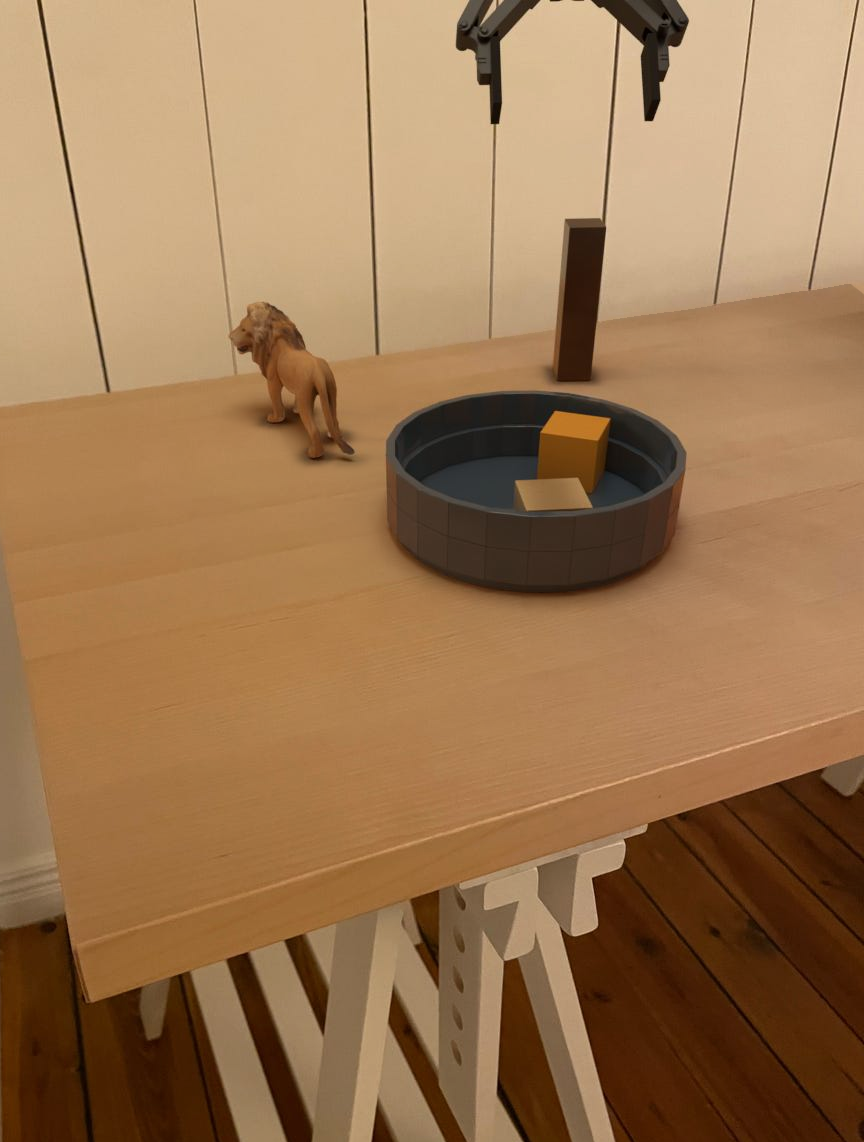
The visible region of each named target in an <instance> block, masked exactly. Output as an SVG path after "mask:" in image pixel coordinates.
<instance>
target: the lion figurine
mask: <svg viewBox="0 0 864 1142" xmlns="http://www.w3.org/2000/svg"><path fill="white" fill-rule="evenodd" d="M239 322H240V324H239V325H238V326H237V327H236V328H234V329H233V330H232V331H230V332H229V334H228V335H227V336H228V339H229V340H230V341H231V343H232V345H233V346H234V347H235V348H236V350H237V353H238V354H239V355H245V354H247V353H250V354H251V360H252V362H253V363H255V364H257V365H258V367H259V370H260V373H261V376H262V377H264V378H265V379H266V384H267V391H268V396H269V398H270V401H271V404H272V409H273V411H272V412H270V413H268V415H267V420H266V421H267V422H269V423H272V424H273V423H280V422H281V423H282V422H283V421H284V420H285V417H286V409H285V406H284V403H283V398H282V396H283V395H282V391H283V388H285V389H286V390H287V391H288V392H289V393H290V394H293V395H294V402H293V406H292V407H293V408H292V412H293V413H294V414H298V415H299V417H300V419H301V421H302V424H303V425H304V428H305V429H306V431H307V433H308V436H309V438H310V441H311V446H310V447H308V450H307V455H308V457H310V458H314V459H315V458H319V457H321V456H323V455H324V446H323V442H322V435H321V432H320V429H319V427H318V426H317V424H316V421H315V413H314V411H315V410H314V408H315V403H316V398H317V397H318V396H319V400H320V406H321V412H322V414H323V417H324V421H325V425H326V427H327V433H326V434H327V436H328V437H329V438H331V439H332V440H333V441H334V442H335V443H336V445H337V446H338V448H339V449H340V451H341V452H342V453H343V454H347V455H354V454H355V452H356V451H355V449H354V448H353V447H352V446H351V445H350V444H349V443H347V442H346V441H344V439H342V438H341V437H342V435H343V434H342V430H341V428H340V425H339V424H340V423H339V420H338V412H337V406H338V404H337V397H338V395H337V394H338V388H337V382H336V379H335V376H334V373H333V371H332V369H331V368H330V365H329V363H328V361H326V359H325V358H323V357H318V356H315V355H313V354H312V353H311V352H309V351H308V350H307V347H306V344H305V340H304V337H303V335H302V334H301V333H300V331H299V329H298V328H297V326H296V324H295V322H293V321H292V320H291V319H290V317H289V316H288V315H287V314H286V313H284V312H283V311H282V310H281V309H278V307H276V306H275V305H273V304H270V303H269V302H265V301H255V302H253V303H249V304H248V305H247V306H246V315H245V317H243V318H242V319H241V320H240V321H239Z"/></svg>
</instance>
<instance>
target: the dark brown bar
mask: <svg viewBox="0 0 864 1142" xmlns="http://www.w3.org/2000/svg"><path fill="white" fill-rule="evenodd" d="M606 237H607V226H606V224H605V223H604V221H603V220H602V219H601V217H585V218H583V217H582V218H580V217H579V218H564V222H563V235H562V246H561V247H562V248H561V261H560V273H559V284H558V285H559V286H558V295H557V296H558V297H557V309H556V322H555V333H554V334H555V335H554V336H555V337H554V346H553V359H552V370H553V374H554V377H555V379H556V381H557V382H574V381H575V382H576V381H578V382H581V381H583V382H584V381H585V382H586V381H591V379H592V371H593V362H594V361H593V360H594V353H595V352H594V350H595V341H596V333H597V332H596V331H597V323H598V313H599V304H600V294H601V283H602V276H603V275H602V274H603V264H604V255H605V244H606Z"/></svg>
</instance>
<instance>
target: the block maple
mask: <svg viewBox="0 0 864 1142" xmlns="http://www.w3.org/2000/svg"><path fill="white" fill-rule="evenodd" d="M586 509H593V507H592V505H591V503H590V501H589V499H588V497H587V495H586V493H585V491H584V489H583V487H582V485H581V483H580V481H579V479H578V478H561V479H539V480H517V481H515V490H514V506H513V510H518V511H528V512H555V511H579V510H586Z"/></svg>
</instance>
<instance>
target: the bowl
mask: <svg viewBox="0 0 864 1142" xmlns="http://www.w3.org/2000/svg"><path fill="white" fill-rule="evenodd" d="M555 411H560V412H567V413H574V414H582V415H589V416H597V417H604V418H610V419H611V420H610V429H609V437H608V446H607V454H606V463H605V470H604V472H603V474H602V476H601V478H600V480H599V482H598V484H597V485H596V487H595V489H594V491H593V493H592V494H591V493H586V495H587V497H588V499H589V501H590V503H591V505H592V507H593V509H586V510H579V511H555V512H528V511H518V510H513V506H514V490H515V481H517V480H537V471H538V458H539V444H540V432H541V431H542V429H543V428H544V426H545V425H546V424H547V422H548V421H549V419H550V418H551V416H552V415H553V413H554V412H555ZM686 467H687V450H686V449H685V447H684V445H683V443H682V442H681V440H680V438H679V437H678V434H676V433H674V432H673V431H672V430H671V429H669V427H667V426H666V425H664V423H662V421H659V420H658V419H656V418H654V417H651V416H649V415H648V414H646V413H644V412H641V411H639V410H638V409H636V408H632V407H629V406H626V405H622V404H619V403H616V402H613V401H610V400H608V399H607V400H606V399H604V398H597V397H593V396H587V395H582V394H577V393H570V392H560V391H548V390H537V389H536V390H535V389H534V390H532V389H531V390H530V389H529V390H498V391H489V392H481V393H472V394H465V395H462V396H457V397H454V398H449V399H444V400H441V401H438V402H435V403H432V404H430V405H428V406H425V407H423V408H420V409H418V410H416V411H414V412H412V413H410V414H409V415H408V416H406V417H405V418H404V419H402V420H401V421H400V422H397V424H396V425H395V426H394V428H393V429H392V431H391V432H390V434H389V435H388V436H387V438H386V440H385V474H386V475H385V477H386V478H385V479H386V482H385V483H386V484H385V485H386V521H387V523H388V525H389V526H390V528H391V529H392V531H393V533H394V535H395V537H396V539H397V540H398V541H399V542H400V543H401V544H402V545H403V547H404V549H406V550H407V551H408V552H409V553H410V554H411V556H413V557H414V558H415V559H417V560H418V561H420V562H421V563H423V564H424V565H425V566H428V567H429V568H431V569H432V570H434V571H436V572H438V573H441V574H443V575H446V576H448V577H450V578H454V579H456V580H459V581H461V582H465V583H468V584H472V585H476V586H480V587H485V588H488V589H489V588H490V589H496V590H501V591H508V592H509V591H510V592H521V593H564V592H571V591H572V592H574V591H580V590H587V589H592V588H597V587H602V586H604V585H607V584H608V585H609V584H611V583H615V582H618V581H620V580H622V579H625V578H628V577H630V576H632V575H634V574H635V573H637V572H639V571H640V570H643V569H644V568H645V567H646V566H648V565H649V564H651V562H653V561H654V560H655V558H656V557H658V556H659V555H661V554H663V552H664V551H665V549H666V548H667V546H668V545H669V544H670V542H671V540H672V539H673V537H674V536H675V534H676V527H677V522H678V516H679V510H680V504H681V498H682V492H683V487H684V486H683V485H684V482H685V481H684V480H685V474H686Z"/></svg>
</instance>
